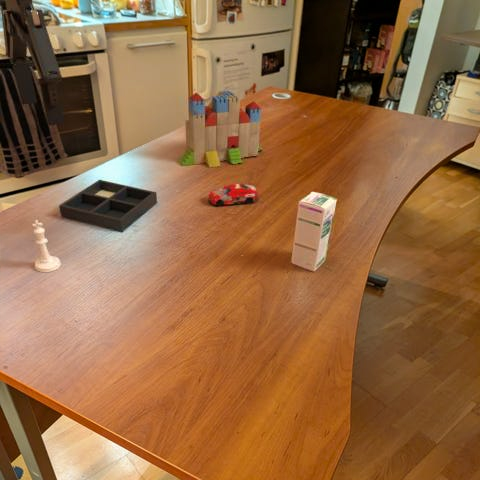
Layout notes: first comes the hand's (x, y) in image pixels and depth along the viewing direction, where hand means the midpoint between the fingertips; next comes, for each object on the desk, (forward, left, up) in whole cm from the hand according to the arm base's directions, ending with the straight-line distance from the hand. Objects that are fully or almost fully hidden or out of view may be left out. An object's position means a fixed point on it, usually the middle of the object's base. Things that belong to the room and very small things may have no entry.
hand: (42, 113), depth 83 cm
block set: (+11, +61, -26) cm, 67 cm away
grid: (0, +16, -26) cm, 31 cm away
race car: (+25, +34, -26) cm, 50 cm away
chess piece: (+2, -10, -26) cm, 28 cm away
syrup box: (+50, +14, -26) cm, 59 cm away
